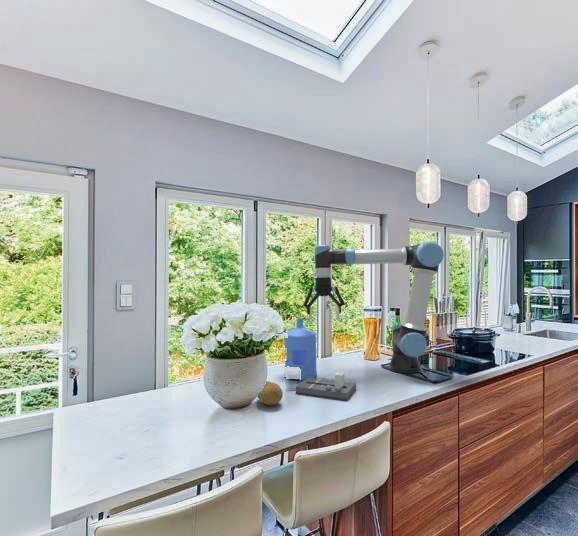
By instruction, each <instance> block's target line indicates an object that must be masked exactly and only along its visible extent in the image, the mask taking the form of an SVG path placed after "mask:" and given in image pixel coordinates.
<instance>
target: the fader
mask: <svg viewBox="0 0 578 536" xmlns="http://www.w3.org/2000/svg"><path fill="white" fill-rule="evenodd" d="M334 381H335V387H336V386H340V387H341V388H342V387H343V386H344V385H345V382H346V380H345V372H341V371H340V372H339V371H337V372H336V373H335V374H334Z"/></svg>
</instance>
